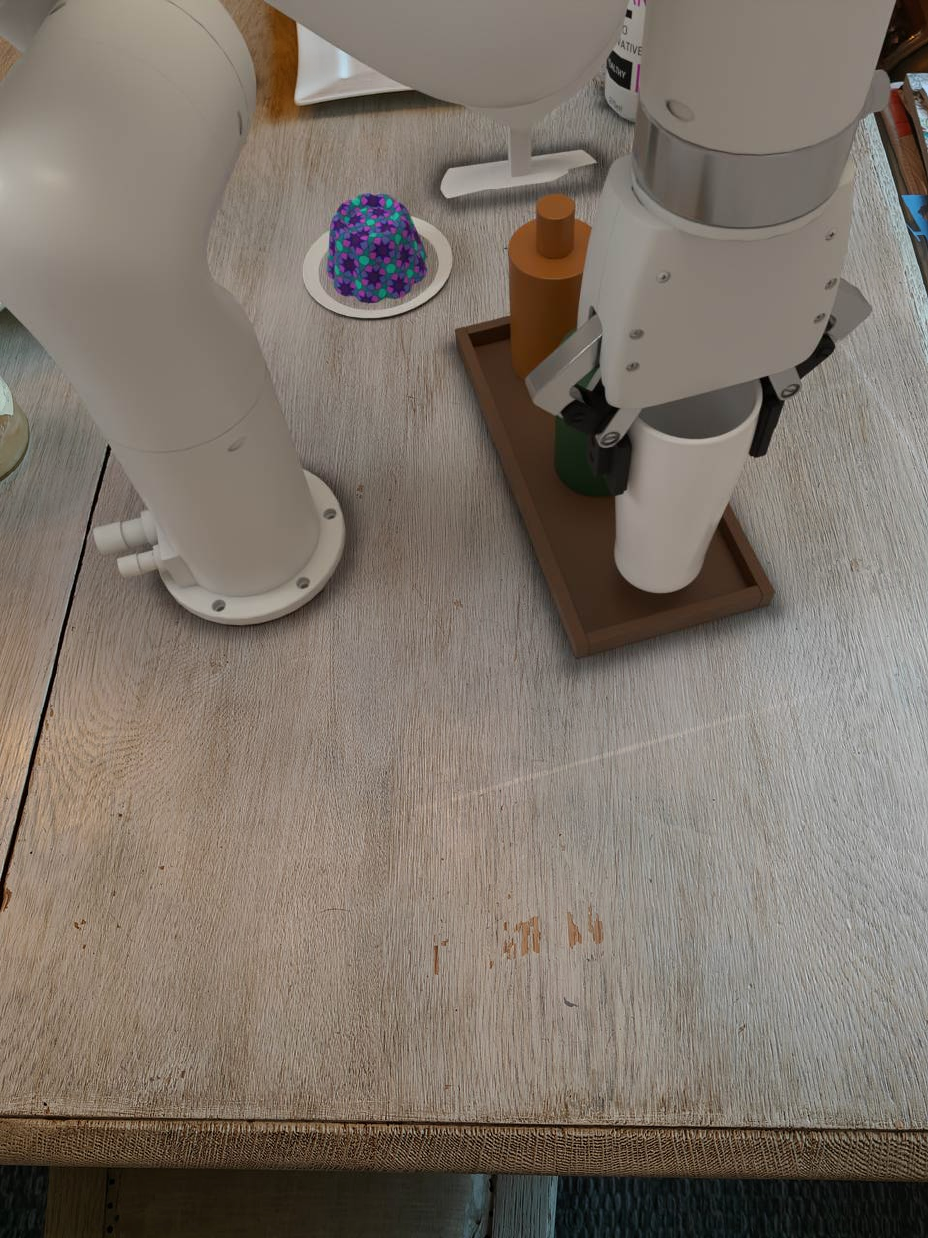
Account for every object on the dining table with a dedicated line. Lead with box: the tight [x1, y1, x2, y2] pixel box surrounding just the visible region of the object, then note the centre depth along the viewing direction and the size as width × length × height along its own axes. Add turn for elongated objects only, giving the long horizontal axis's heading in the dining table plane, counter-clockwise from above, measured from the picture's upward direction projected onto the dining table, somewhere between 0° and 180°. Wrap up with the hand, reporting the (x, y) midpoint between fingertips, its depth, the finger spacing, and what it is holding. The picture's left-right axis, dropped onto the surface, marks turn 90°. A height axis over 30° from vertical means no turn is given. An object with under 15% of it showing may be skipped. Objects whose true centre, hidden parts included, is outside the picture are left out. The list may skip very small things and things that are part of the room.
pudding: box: [302, 192, 454, 319], centre depth 74 cm, size 12×12×5 cm
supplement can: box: [604, 0, 646, 123], centre depth 78 cm, size 8×8×15 cm
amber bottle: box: [507, 193, 592, 381], centre depth 64 cm, size 6×6×13 cm
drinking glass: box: [614, 378, 763, 593], centre depth 52 cm, size 7×7×15 cm
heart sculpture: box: [439, 6, 628, 200], centre depth 73 cm, size 16×5×18 cm, turn 97°
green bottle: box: [554, 327, 612, 497], centre depth 60 cm, size 6×6×13 cm
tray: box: [454, 315, 776, 660], centre depth 65 cm, size 13×28×2 cm, turn 16°
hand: (678, 453), depth 49 cm, fingers closed on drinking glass, 6 cm apart
